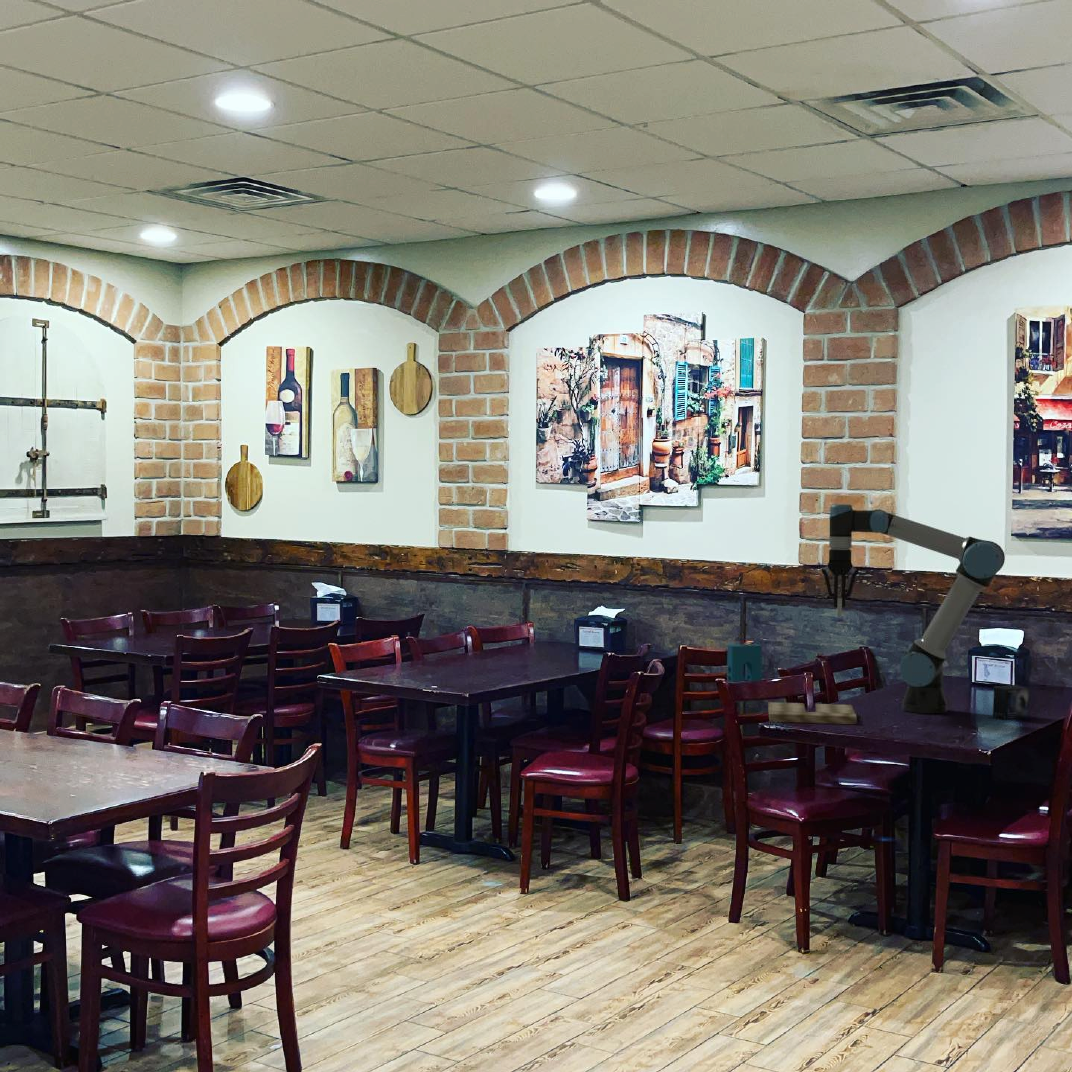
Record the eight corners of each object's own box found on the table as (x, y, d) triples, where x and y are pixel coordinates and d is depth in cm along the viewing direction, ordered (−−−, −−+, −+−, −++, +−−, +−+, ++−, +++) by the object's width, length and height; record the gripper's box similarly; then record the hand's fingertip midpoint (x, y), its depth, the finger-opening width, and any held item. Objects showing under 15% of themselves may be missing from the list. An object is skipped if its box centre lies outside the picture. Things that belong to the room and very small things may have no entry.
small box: (1006, 720, 454) (1007, 689, 454) (991, 717, 460) (992, 686, 459) (1029, 717, 459) (1030, 687, 458) (1014, 714, 465) (1015, 684, 464)
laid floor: (854, 721, 450) (855, 713, 450) (856, 724, 444) (856, 716, 444) (769, 718, 454) (769, 710, 454) (769, 721, 448) (769, 713, 448)
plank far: (803, 710, 465) (803, 703, 465) (805, 719, 452) (805, 711, 452) (768, 709, 467) (768, 702, 467) (769, 718, 454) (769, 710, 454)
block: (755, 698, 495) (755, 643, 494) (762, 700, 490) (762, 645, 490) (725, 700, 491) (726, 645, 490) (732, 702, 486) (733, 646, 486)
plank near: (851, 712, 463) (851, 704, 463) (854, 720, 450) (854, 713, 450) (815, 711, 465) (815, 703, 464) (817, 719, 452) (818, 712, 452)
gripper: (858, 548, 472) (857, 616, 473) (820, 548, 474) (819, 615, 475) (860, 549, 464) (859, 618, 465) (821, 549, 466) (820, 617, 467)
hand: (839, 616), depth 470 cm, fingers closed
